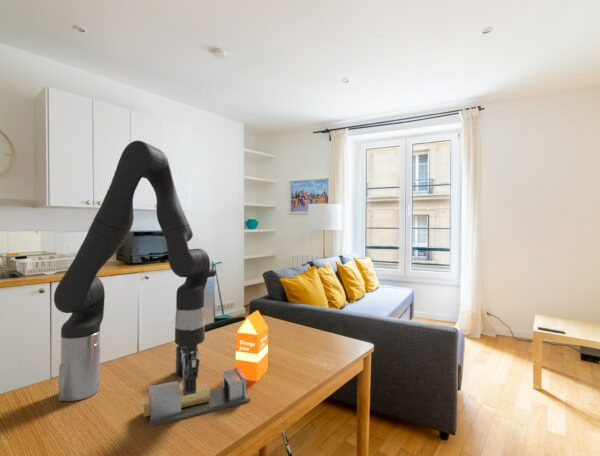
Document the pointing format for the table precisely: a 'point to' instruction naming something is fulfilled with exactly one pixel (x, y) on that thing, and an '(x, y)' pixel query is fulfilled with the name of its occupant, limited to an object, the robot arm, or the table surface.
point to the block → (184, 396)
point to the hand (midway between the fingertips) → (189, 388)
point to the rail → (169, 404)
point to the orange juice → (252, 347)
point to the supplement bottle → (179, 362)
